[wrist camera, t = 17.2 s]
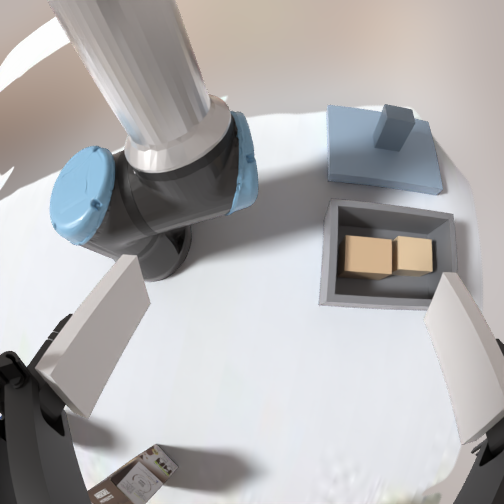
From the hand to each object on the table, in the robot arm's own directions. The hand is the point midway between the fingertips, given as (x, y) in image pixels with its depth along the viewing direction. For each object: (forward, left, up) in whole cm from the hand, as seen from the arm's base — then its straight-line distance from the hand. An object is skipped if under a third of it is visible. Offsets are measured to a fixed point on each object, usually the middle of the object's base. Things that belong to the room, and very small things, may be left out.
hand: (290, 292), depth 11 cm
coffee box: (+11, -37, -34) cm, 52 cm away
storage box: (+3, +17, -34) cm, 38 cm away
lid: (-13, +33, -34) cm, 49 cm away
